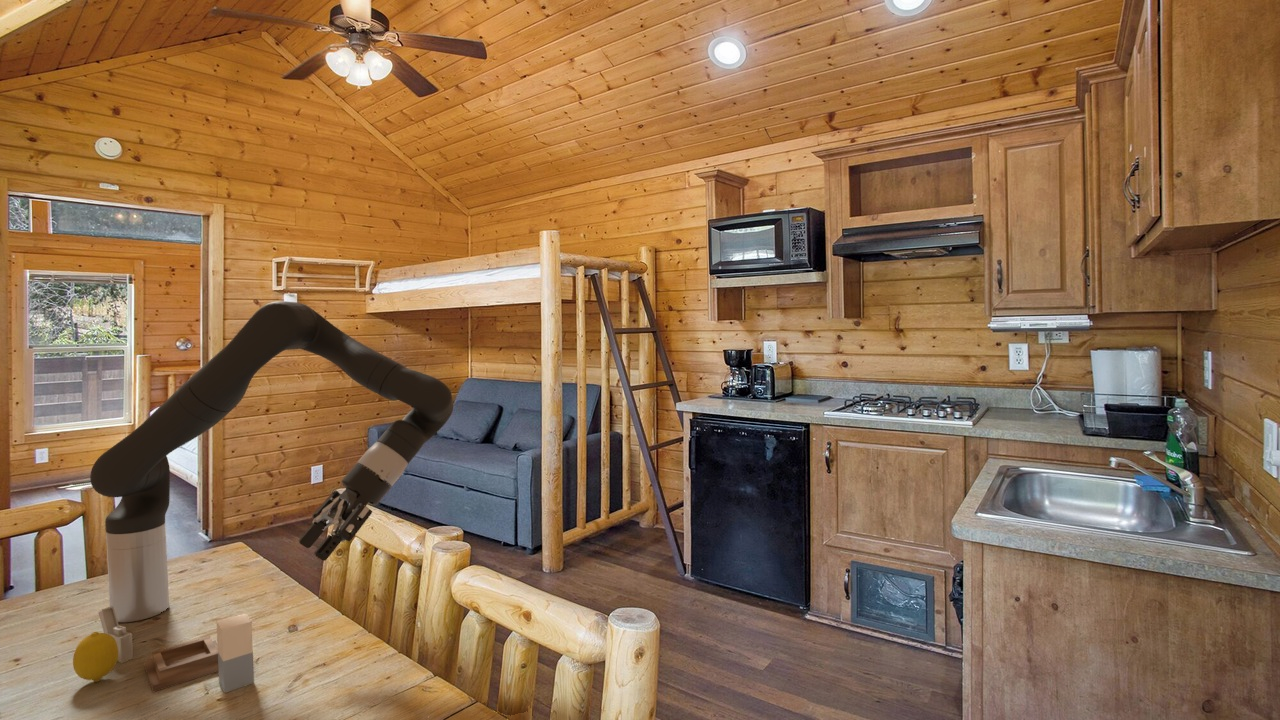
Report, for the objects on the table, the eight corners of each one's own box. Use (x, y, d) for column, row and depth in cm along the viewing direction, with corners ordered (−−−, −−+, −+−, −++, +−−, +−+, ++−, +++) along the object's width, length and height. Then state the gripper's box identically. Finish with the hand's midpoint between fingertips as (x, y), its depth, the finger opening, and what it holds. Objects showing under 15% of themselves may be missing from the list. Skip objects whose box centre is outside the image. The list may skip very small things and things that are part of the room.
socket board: (144, 667, 107) (143, 652, 107) (215, 646, 114) (215, 632, 113) (152, 691, 99) (152, 676, 99) (228, 667, 106) (227, 653, 106)
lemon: (93, 692, 99) (90, 642, 99) (65, 688, 100) (62, 639, 100) (128, 673, 105) (126, 625, 104) (101, 670, 106) (98, 622, 105)
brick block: (219, 682, 102) (216, 621, 101) (247, 672, 105) (245, 613, 104) (224, 692, 99) (221, 629, 99) (254, 682, 102) (251, 621, 101)
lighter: (133, 658, 110) (131, 612, 109) (121, 662, 108) (119, 616, 108) (112, 648, 113) (109, 604, 112) (100, 653, 111) (97, 608, 111)
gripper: (345, 455, 120) (280, 530, 112) (375, 466, 109) (305, 550, 102) (375, 478, 123) (314, 552, 116) (407, 491, 113) (342, 573, 106)
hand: (310, 551), depth 109 cm, fingers open, 8 cm apart
